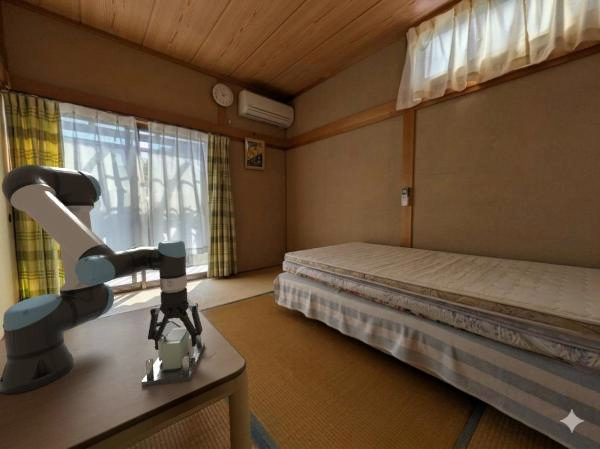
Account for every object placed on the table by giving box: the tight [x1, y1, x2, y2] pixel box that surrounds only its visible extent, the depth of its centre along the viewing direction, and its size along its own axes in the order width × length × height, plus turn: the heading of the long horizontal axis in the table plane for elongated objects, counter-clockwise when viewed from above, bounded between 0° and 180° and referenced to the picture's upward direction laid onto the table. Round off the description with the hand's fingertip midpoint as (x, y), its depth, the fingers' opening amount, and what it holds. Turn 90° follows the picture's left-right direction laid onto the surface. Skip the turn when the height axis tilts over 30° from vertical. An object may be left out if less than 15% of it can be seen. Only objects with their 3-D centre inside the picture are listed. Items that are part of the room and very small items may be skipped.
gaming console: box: [155, 320, 182, 340], centre depth 96 cm, size 19×9×2 cm, turn 51°
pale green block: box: [161, 326, 190, 370], centre depth 77 cm, size 5×10×8 cm, turn 9°
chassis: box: [141, 333, 206, 387], centre depth 77 cm, size 13×18×6 cm
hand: (177, 356), depth 77 cm, fingers open, 8 cm apart
